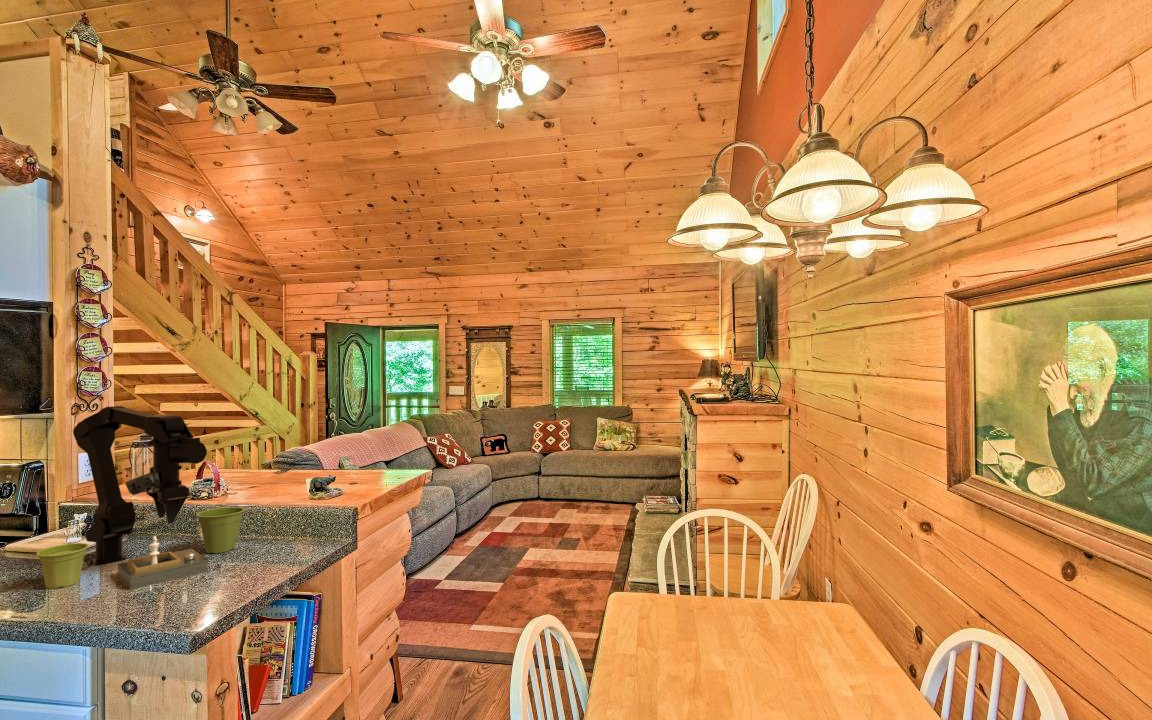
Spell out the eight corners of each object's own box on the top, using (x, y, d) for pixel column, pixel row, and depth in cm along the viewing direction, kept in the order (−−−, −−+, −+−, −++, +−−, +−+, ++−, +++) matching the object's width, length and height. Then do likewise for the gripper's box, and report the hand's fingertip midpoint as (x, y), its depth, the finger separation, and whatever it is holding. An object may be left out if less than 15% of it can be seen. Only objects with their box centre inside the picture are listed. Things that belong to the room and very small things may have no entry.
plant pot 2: (253, 547, 163) (253, 509, 164) (211, 559, 153) (211, 518, 153) (229, 541, 169) (229, 504, 169) (187, 553, 158) (187, 513, 159)
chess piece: (147, 580, 137) (147, 540, 138) (138, 576, 140) (138, 537, 140) (169, 574, 142) (170, 535, 142) (160, 570, 144) (161, 532, 144)
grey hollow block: (117, 575, 141) (117, 557, 141) (191, 559, 153) (191, 542, 153) (130, 589, 132) (130, 570, 132) (207, 571, 144) (207, 553, 144)
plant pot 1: (98, 577, 139) (99, 543, 140) (60, 592, 130) (60, 555, 130) (65, 576, 140) (65, 542, 140) (24, 591, 131) (25, 554, 131)
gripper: (120, 462, 149) (120, 520, 149) (137, 470, 137) (136, 533, 136) (170, 457, 157) (170, 512, 157) (190, 464, 145) (189, 524, 145)
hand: (165, 520), depth 149 cm, fingers open, 9 cm apart
